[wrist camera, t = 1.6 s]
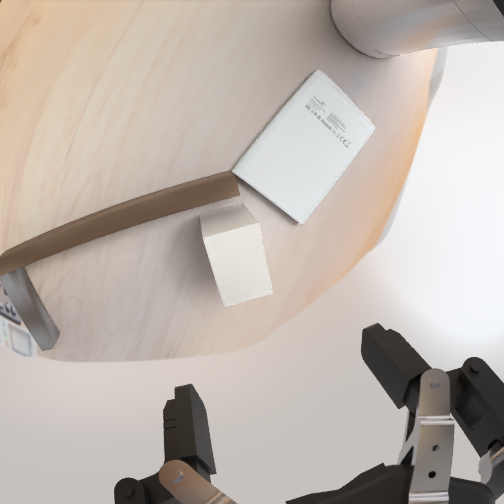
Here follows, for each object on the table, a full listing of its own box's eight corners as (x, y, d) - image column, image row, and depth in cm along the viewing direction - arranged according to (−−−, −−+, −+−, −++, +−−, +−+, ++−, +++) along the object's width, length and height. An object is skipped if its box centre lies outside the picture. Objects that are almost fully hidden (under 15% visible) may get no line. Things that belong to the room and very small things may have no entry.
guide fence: (6, 250, 21) (-8, 262, 18) (229, 170, 23) (235, 175, 21) (50, 334, 25) (42, 350, 23) (255, 280, 28) (262, 296, 26)
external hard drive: (230, 170, 24) (312, 71, 22) (296, 221, 27) (369, 128, 25) (232, 172, 23) (320, 68, 20) (303, 226, 26) (378, 129, 23)
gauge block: (199, 214, 24) (202, 238, 19) (242, 202, 25) (258, 222, 20) (216, 272, 27) (224, 307, 22) (255, 261, 28) (273, 293, 22)
